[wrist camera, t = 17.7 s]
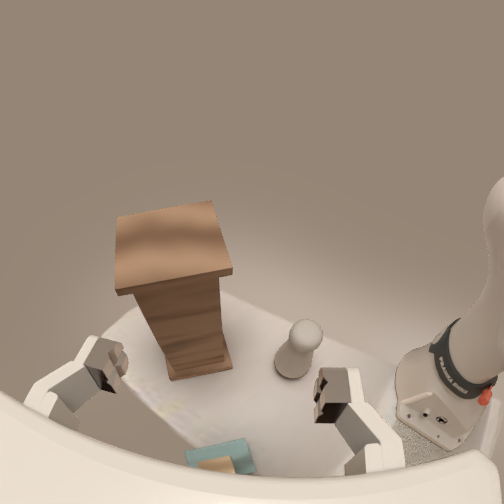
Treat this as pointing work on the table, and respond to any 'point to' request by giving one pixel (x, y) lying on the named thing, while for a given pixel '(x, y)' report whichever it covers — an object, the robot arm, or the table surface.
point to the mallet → (223, 458)
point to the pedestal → (177, 283)
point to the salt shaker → (298, 349)
